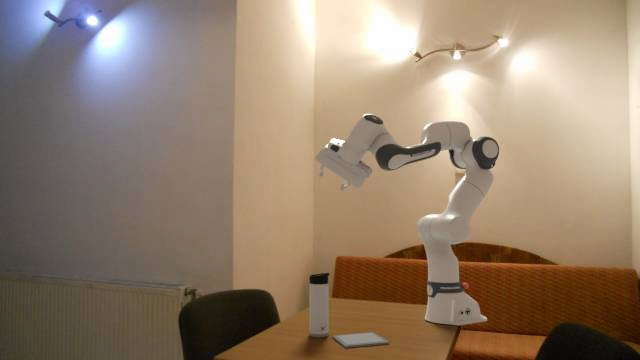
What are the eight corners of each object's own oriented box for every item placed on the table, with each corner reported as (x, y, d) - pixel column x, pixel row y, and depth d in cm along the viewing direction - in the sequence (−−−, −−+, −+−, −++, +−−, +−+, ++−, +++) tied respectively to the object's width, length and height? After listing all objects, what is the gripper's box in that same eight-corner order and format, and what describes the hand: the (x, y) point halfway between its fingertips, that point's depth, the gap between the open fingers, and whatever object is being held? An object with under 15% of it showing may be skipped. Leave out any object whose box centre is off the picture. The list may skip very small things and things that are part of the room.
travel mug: (327, 338, 144) (327, 274, 146) (307, 337, 146) (307, 273, 147) (331, 333, 150) (331, 271, 152) (311, 332, 152) (311, 271, 153)
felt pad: (372, 334, 149) (372, 331, 149) (389, 343, 138) (389, 341, 138) (332, 337, 145) (332, 335, 145) (345, 348, 134) (345, 345, 134)
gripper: (375, 166, 169) (355, 194, 175) (329, 136, 169) (310, 165, 174) (373, 172, 163) (352, 200, 169) (325, 140, 163) (306, 170, 168)
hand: (330, 182), depth 172 cm, fingers open, 8 cm apart
